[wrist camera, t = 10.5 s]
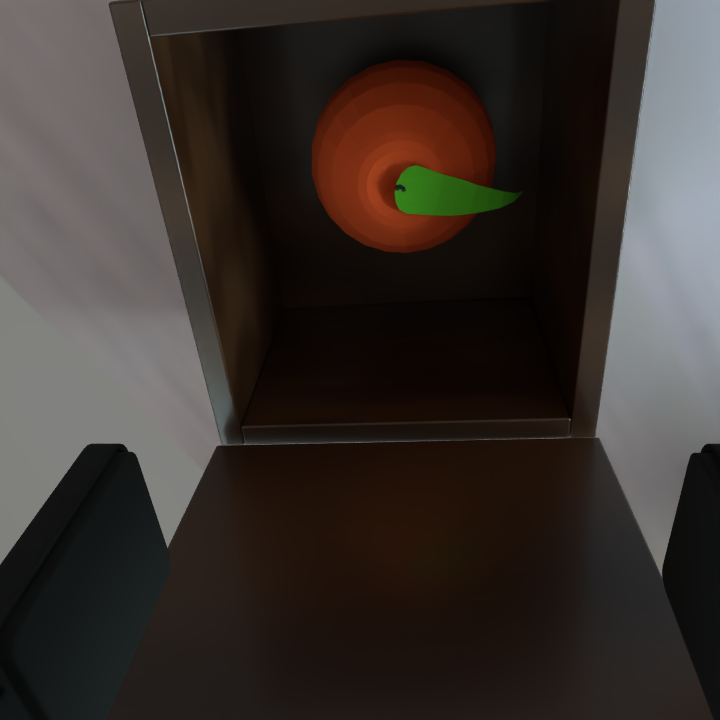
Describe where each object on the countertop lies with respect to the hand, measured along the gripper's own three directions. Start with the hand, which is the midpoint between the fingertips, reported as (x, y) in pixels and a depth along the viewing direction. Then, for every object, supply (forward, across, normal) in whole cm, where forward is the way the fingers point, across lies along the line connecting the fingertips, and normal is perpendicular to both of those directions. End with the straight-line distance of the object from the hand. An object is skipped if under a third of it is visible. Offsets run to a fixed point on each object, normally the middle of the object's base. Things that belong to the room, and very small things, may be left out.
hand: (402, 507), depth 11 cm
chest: (+21, +1, -1) cm, 21 cm away
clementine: (+20, 0, -2) cm, 20 cm away
